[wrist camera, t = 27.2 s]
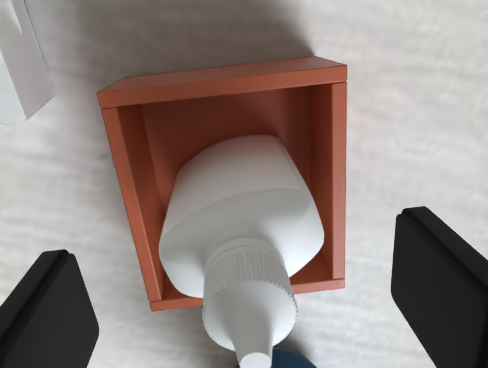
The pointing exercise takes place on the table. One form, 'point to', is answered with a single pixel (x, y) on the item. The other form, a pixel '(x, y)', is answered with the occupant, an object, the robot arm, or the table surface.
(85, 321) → the robot arm
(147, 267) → the terracotta bin
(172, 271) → the eye dropper bottle
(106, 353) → the table surface
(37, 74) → the bracket
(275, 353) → the soda can
